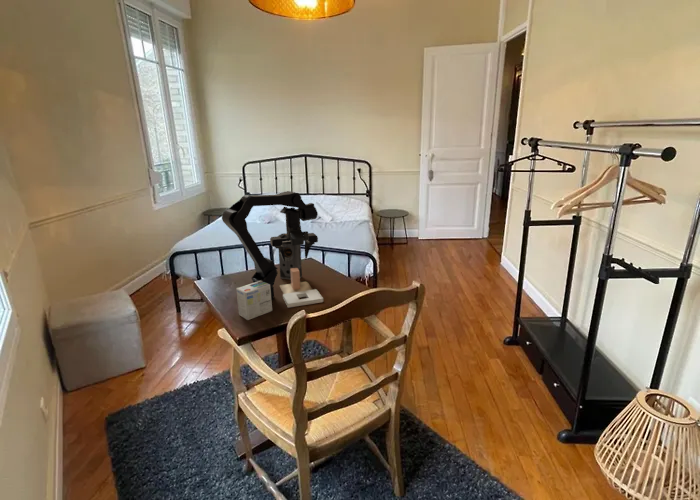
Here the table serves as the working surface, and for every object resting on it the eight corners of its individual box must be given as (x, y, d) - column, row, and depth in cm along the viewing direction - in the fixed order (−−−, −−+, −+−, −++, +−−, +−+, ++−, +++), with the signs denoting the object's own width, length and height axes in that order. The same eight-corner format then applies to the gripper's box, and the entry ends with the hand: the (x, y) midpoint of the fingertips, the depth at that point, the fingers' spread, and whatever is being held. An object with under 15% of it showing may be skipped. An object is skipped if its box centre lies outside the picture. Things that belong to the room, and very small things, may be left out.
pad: (284, 295, 157) (284, 293, 156) (279, 286, 166) (279, 285, 165) (312, 291, 161) (312, 289, 160) (306, 282, 170) (306, 281, 169)
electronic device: (279, 278, 175) (276, 236, 169) (284, 274, 180) (282, 232, 174) (297, 280, 172) (295, 237, 166) (303, 276, 177) (301, 234, 172)
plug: (293, 289, 160) (292, 271, 158) (291, 286, 164) (290, 268, 162) (300, 288, 161) (299, 271, 159) (298, 285, 165) (297, 267, 163)
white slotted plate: (287, 307, 145) (287, 304, 145) (282, 297, 154) (282, 294, 154) (323, 301, 150) (323, 298, 150) (316, 292, 159) (316, 289, 159)
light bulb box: (262, 305, 147) (260, 279, 144) (273, 311, 143) (271, 284, 140) (237, 315, 140) (235, 287, 137) (248, 320, 136) (245, 292, 132)
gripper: (273, 229, 144) (276, 268, 149) (321, 225, 151) (322, 262, 155) (268, 223, 154) (271, 260, 159) (313, 219, 161) (314, 254, 165)
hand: (295, 259), depth 159 cm, fingers open, 9 cm apart
